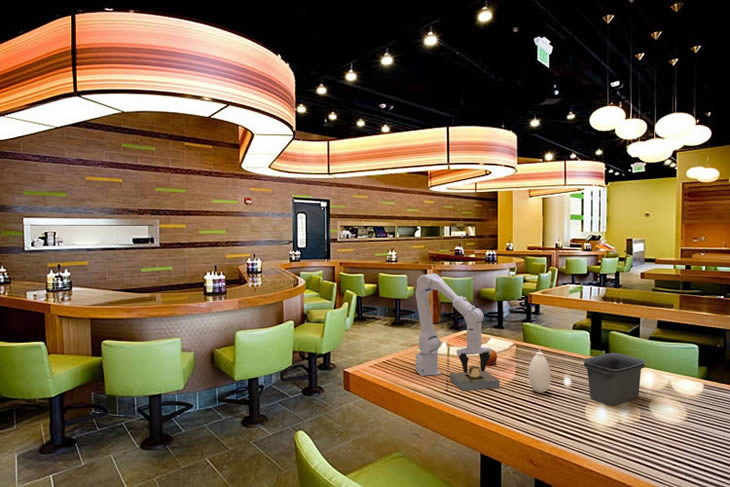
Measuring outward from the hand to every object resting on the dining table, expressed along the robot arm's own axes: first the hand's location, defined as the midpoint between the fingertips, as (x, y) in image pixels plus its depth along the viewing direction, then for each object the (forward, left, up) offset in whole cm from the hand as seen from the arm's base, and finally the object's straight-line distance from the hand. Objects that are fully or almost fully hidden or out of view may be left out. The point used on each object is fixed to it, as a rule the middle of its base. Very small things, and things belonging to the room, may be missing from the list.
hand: (473, 371), depth 160 cm
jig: (0, 0, -5) cm, 5 cm away
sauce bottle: (+21, -13, -5) cm, 25 cm away
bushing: (0, 0, -5) cm, 5 cm away
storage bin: (+44, -23, -5) cm, 50 cm away
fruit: (+19, +23, -5) cm, 30 cm away
